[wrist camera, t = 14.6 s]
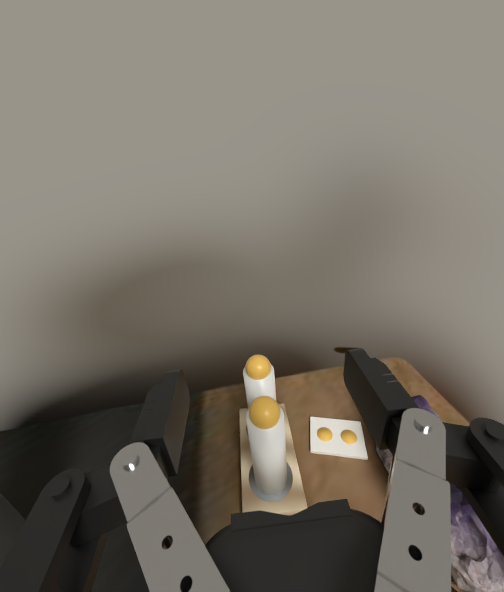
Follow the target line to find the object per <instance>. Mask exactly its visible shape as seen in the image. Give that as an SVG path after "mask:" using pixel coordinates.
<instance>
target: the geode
mask: <svg viewBox="0 0 504 592" xmlns="http://www.w3.org/2000/svg"><path fill="white" fill-rule="evenodd" d="M411 398H412V399H413V400H414V402H415V403H416V404H417V405H418V407H419V408H420V409H423V410H426V411H428V412H430V413H432V414H434V415H435V416H436V417H438V418H439V415H438V414H436V413H435V412H434V411H433V410H432V409H431V407H430V405H429V404H428V402H427V400H426V399H425V398H423V396H421V395H418V396H414V397H411ZM376 452H377V454H378V456H379V457H380V459H381V461H382V463H383V465H384V467H385V468H386V470H387V471H388V473H389V472H390V467H391V461H392V457H393V455H392V454H391V452H390V450H389V449H386V450H379V448H378V446H377V444H376ZM450 510H451V575H452V577H453V579H454V580H455V582H456V584H457V586H458V588H460V589H462V590H464V591H466V592H504V556H503V555H502V553H501V552H500V550H499V549H498V547H497V545H496V544H495V542H494V541H493V539H492V538H491V536H490V535H489V533H488V532H487V530H486V529H485V527H484V526H483V524H482V523H481V521H480V519H479V518H478V516H477V515H476V513H475V512H474V510H473V509H472V507H471V506H470V504H469V503H468V501H467V500H466V498H465V496H464V495H463V493H462V492H461V490H460V489H459V487H458V486H457V485H452V484H450Z"/></svg>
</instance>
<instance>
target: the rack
mask: <svg viewBox="0 0 504 592" xmlns="http://www.w3.org/2000/svg"><path fill="white" fill-rule="evenodd" d="M278 405H279V406H280V407H281V409H282V410H283V413H284V424H285V444H286V463H287V483H286V486H285V488H284V489H283V490H282V491H281V492H280V493H278V494H275V495H267V494H264V493H263V492H261V491H260V490H259V489H258V487H257V485H256V482H255V477H254V470H253V463H252V456H251V449H250V442H249V436H248V429H247V422H246V414H247V411H248V408H244V409H239V415H240V447H241V480H242V512H251V511H258V510H261V511H266V512H272V513H277V514H283V515H294V514H296V513H298V512H300V511H302V510H304V509H306V508H307V503H306V499H305V495H304V490H303V486H302V481H301V477H300V472H299V468H298V463H297V459H296V454H295V450H294V445H293V441H292V436H291V432H290V427H289V423H288V418H287V414H286V409H285V405H284V404H278Z"/></svg>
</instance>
